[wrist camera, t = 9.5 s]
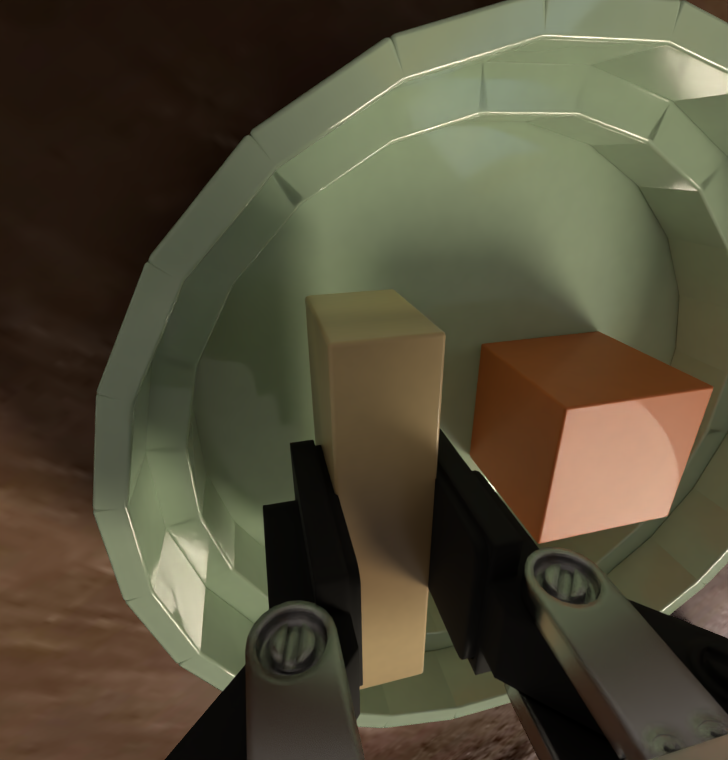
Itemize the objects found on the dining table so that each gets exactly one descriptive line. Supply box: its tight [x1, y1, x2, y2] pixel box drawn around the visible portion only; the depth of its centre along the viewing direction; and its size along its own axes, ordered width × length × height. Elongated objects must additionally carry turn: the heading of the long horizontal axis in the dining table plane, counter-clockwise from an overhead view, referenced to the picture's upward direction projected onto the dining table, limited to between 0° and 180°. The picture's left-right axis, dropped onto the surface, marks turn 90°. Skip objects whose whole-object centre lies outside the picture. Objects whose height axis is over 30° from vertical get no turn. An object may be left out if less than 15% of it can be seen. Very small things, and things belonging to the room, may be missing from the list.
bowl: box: [92, 0, 728, 728], centre depth 13 cm, size 18×18×4 cm
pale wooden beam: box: [305, 289, 446, 689], centre depth 11 cm, size 9×2×3 cm, turn 1°
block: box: [470, 331, 713, 544], centre depth 13 cm, size 4×4×4 cm
